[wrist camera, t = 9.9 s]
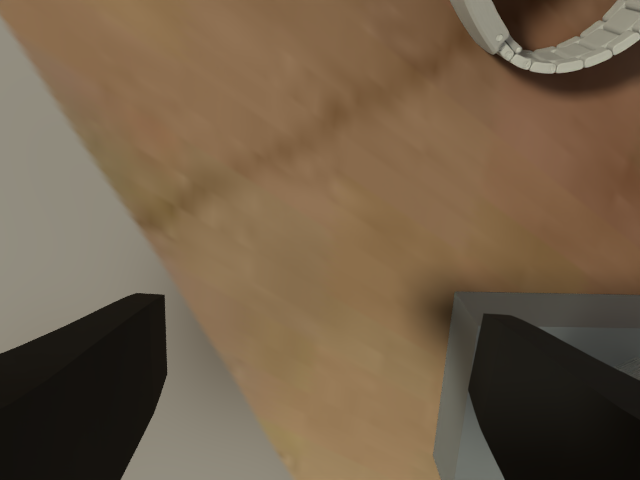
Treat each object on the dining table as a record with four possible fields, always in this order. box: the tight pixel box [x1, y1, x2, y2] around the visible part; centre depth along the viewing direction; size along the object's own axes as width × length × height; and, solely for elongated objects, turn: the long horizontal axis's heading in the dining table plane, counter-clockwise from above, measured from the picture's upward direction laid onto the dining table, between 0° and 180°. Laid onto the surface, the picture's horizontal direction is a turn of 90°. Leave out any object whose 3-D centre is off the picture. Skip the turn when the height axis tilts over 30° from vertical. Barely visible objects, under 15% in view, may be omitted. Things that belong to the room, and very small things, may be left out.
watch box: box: [433, 292, 640, 480], centre depth 21 cm, size 11×9×4 cm
